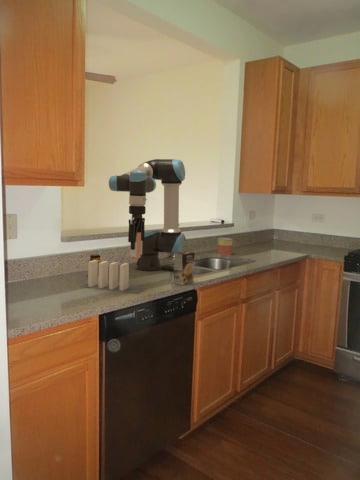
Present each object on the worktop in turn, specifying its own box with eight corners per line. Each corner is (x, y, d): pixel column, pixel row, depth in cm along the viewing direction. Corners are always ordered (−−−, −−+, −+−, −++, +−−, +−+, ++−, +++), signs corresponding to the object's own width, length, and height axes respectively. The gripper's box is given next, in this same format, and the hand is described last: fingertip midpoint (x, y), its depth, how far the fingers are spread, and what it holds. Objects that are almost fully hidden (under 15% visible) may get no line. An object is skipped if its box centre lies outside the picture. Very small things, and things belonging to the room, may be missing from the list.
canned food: (233, 254, 303) (234, 238, 302) (230, 256, 293) (231, 240, 291) (218, 252, 307) (219, 237, 305) (215, 255, 296) (216, 239, 295)
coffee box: (182, 285, 200) (183, 254, 198) (173, 283, 204) (174, 252, 202) (193, 282, 207) (194, 252, 205) (184, 280, 211) (185, 250, 209)
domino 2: (98, 287, 188) (98, 263, 186) (104, 285, 194) (104, 260, 192) (101, 288, 187) (101, 263, 186) (107, 285, 193) (108, 261, 191)
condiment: (101, 278, 209) (101, 256, 208) (85, 278, 208) (85, 256, 206) (101, 275, 217) (101, 253, 215) (85, 275, 215) (85, 253, 213)
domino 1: (88, 286, 189) (88, 261, 188) (94, 283, 195) (94, 259, 194) (91, 287, 189) (91, 262, 187) (97, 284, 195) (97, 260, 193)
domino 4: (119, 290, 185) (119, 265, 183) (124, 287, 190) (125, 262, 189) (122, 290, 184) (123, 265, 183) (128, 287, 190) (128, 263, 188)
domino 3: (108, 289, 186) (109, 264, 185) (114, 286, 192) (114, 261, 190) (112, 289, 186) (112, 264, 184) (117, 286, 191) (118, 262, 190)
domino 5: (131, 259, 181) (132, 233, 180) (136, 257, 187) (137, 231, 185) (135, 259, 181) (136, 233, 179) (140, 257, 186) (141, 232, 185)
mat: (91, 283, 199) (91, 281, 199) (147, 289, 190) (147, 288, 190) (80, 288, 189) (80, 286, 188) (138, 295, 180) (138, 294, 180)
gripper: (136, 206, 171) (135, 259, 173) (152, 205, 189) (151, 253, 192) (120, 205, 173) (119, 257, 176) (138, 204, 191) (136, 251, 194)
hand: (136, 255), depth 184 cm, fingers closed on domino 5, 6 cm apart
